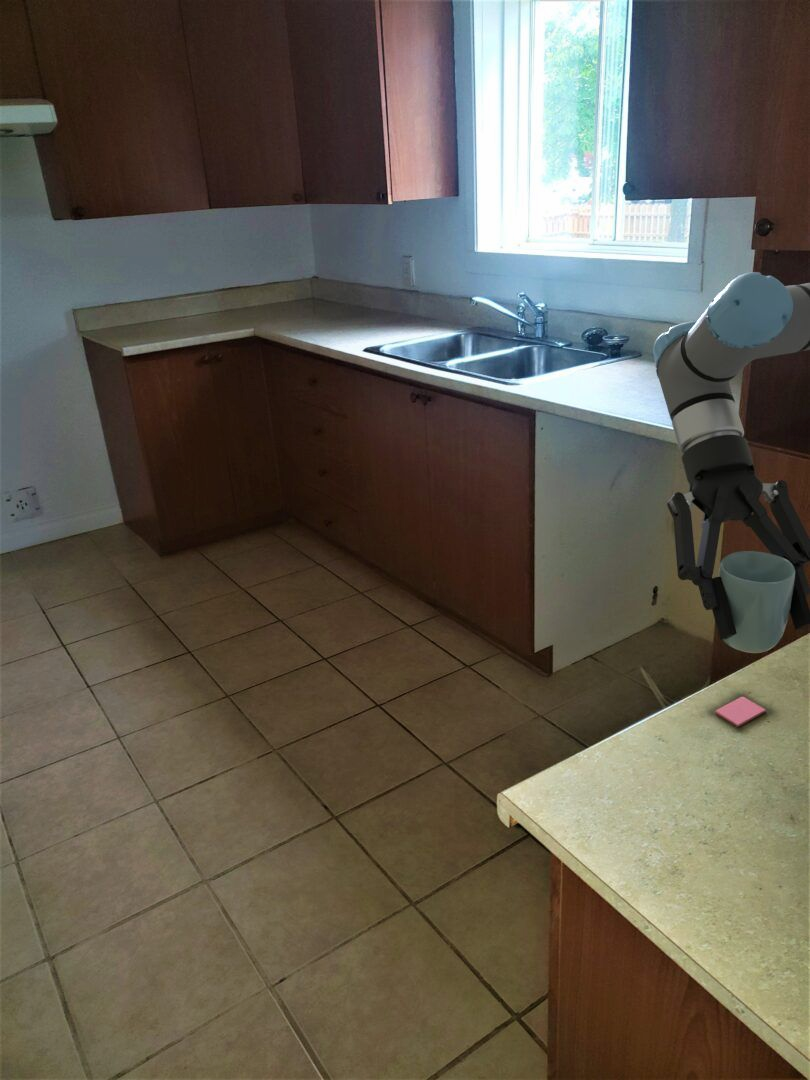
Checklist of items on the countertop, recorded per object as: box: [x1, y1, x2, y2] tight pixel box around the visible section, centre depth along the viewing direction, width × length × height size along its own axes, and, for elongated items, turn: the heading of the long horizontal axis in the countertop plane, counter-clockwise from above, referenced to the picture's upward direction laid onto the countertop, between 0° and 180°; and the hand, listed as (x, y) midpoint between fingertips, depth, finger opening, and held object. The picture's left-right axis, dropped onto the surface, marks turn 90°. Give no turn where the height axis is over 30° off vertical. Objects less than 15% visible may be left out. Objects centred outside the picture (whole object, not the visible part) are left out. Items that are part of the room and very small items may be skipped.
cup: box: [717, 550, 795, 654], centre depth 92 cm, size 8×8×10 cm
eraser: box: [714, 696, 767, 728], centre depth 100 cm, size 5×3×1 cm
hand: (766, 631), depth 90 cm, fingers closed on cup, 8 cm apart
